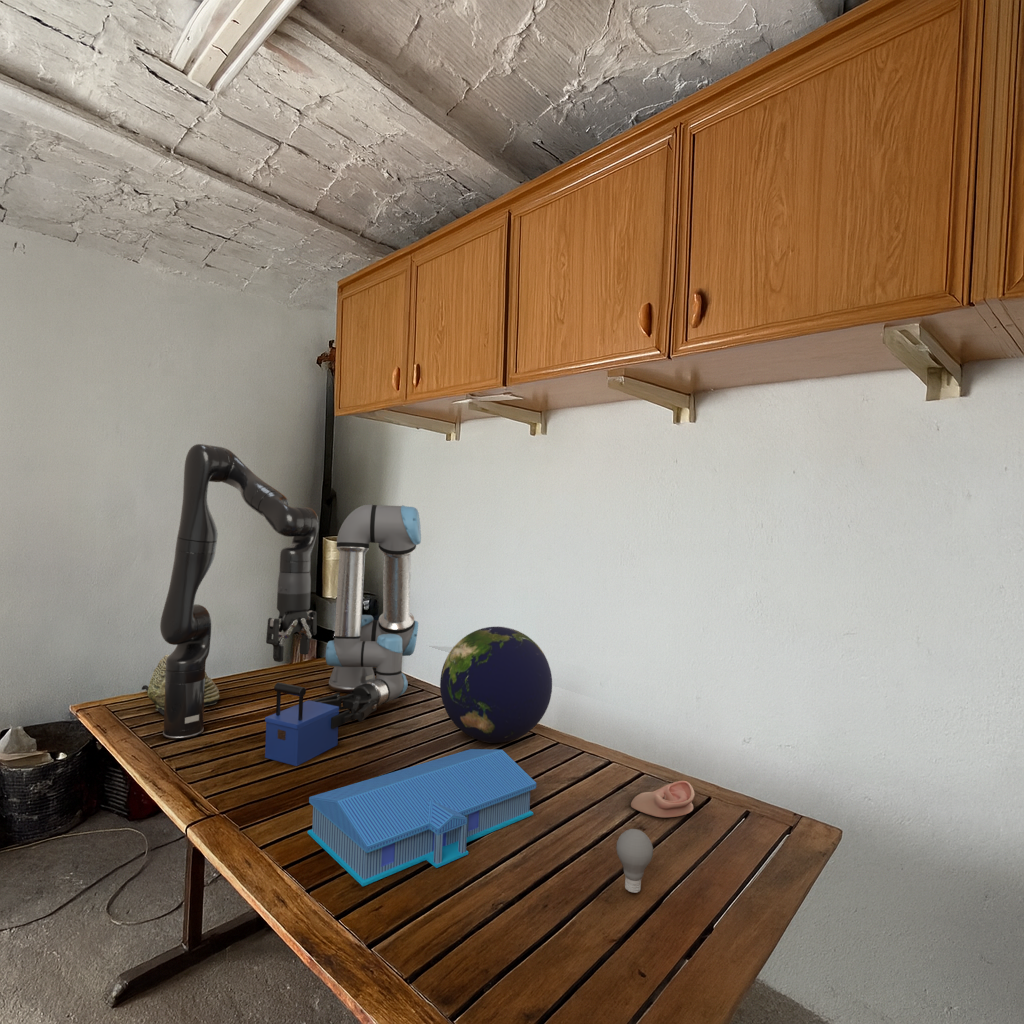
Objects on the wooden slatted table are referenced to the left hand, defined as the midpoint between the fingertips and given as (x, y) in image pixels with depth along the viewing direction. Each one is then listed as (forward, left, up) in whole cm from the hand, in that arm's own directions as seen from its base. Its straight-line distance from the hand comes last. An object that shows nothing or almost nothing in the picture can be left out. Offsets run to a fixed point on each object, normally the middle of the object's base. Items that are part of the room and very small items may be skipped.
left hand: (291, 657), depth 152 cm
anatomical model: (+71, +52, -24) cm, 91 cm away
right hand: (-4, +9, -18) cm, 20 cm away
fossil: (-53, -8, -24) cm, 59 cm away
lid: (-2, +4, -16) cm, 16 cm away
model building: (+47, +8, -24) cm, 54 cm away
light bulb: (+85, +22, -24) cm, 91 cm away
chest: (-2, +5, -24) cm, 25 cm away
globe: (+21, +48, -24) cm, 58 cm away
